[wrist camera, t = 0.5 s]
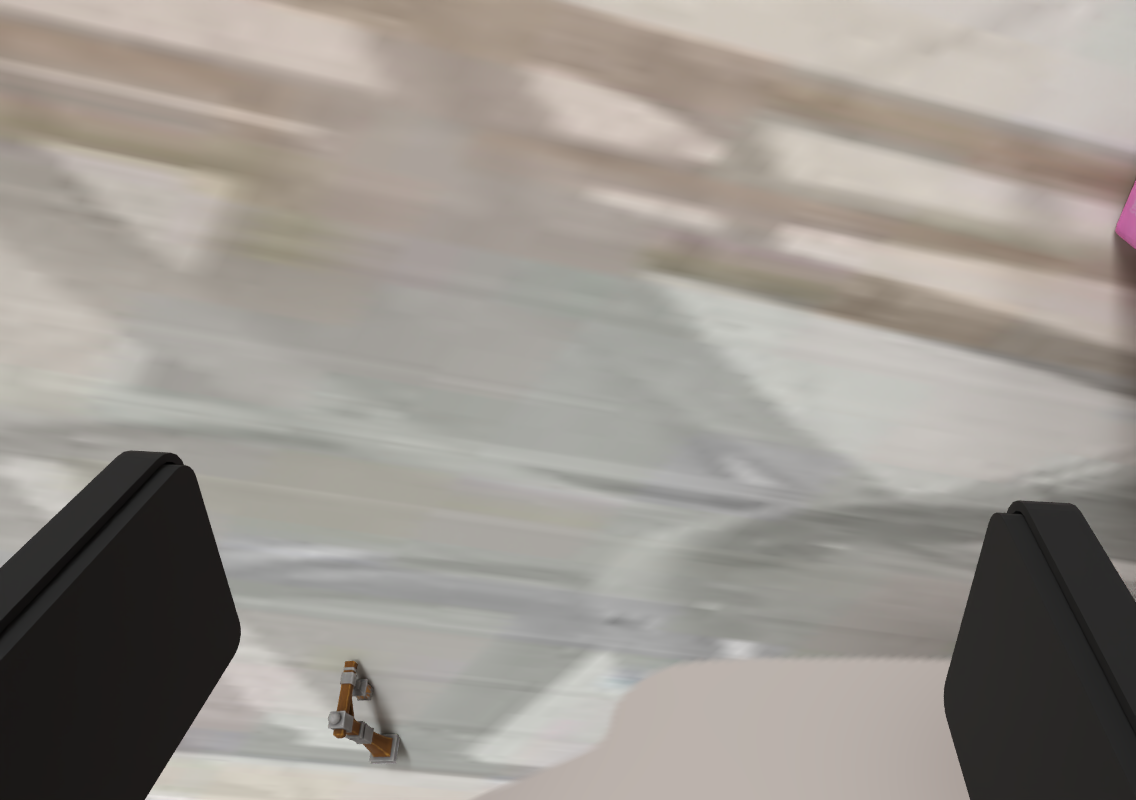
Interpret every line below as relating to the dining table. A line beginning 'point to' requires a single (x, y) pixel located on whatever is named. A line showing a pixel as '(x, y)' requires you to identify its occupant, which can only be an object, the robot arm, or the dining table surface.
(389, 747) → the wooden post with brackets
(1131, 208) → the gum box
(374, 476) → the dining table surface
